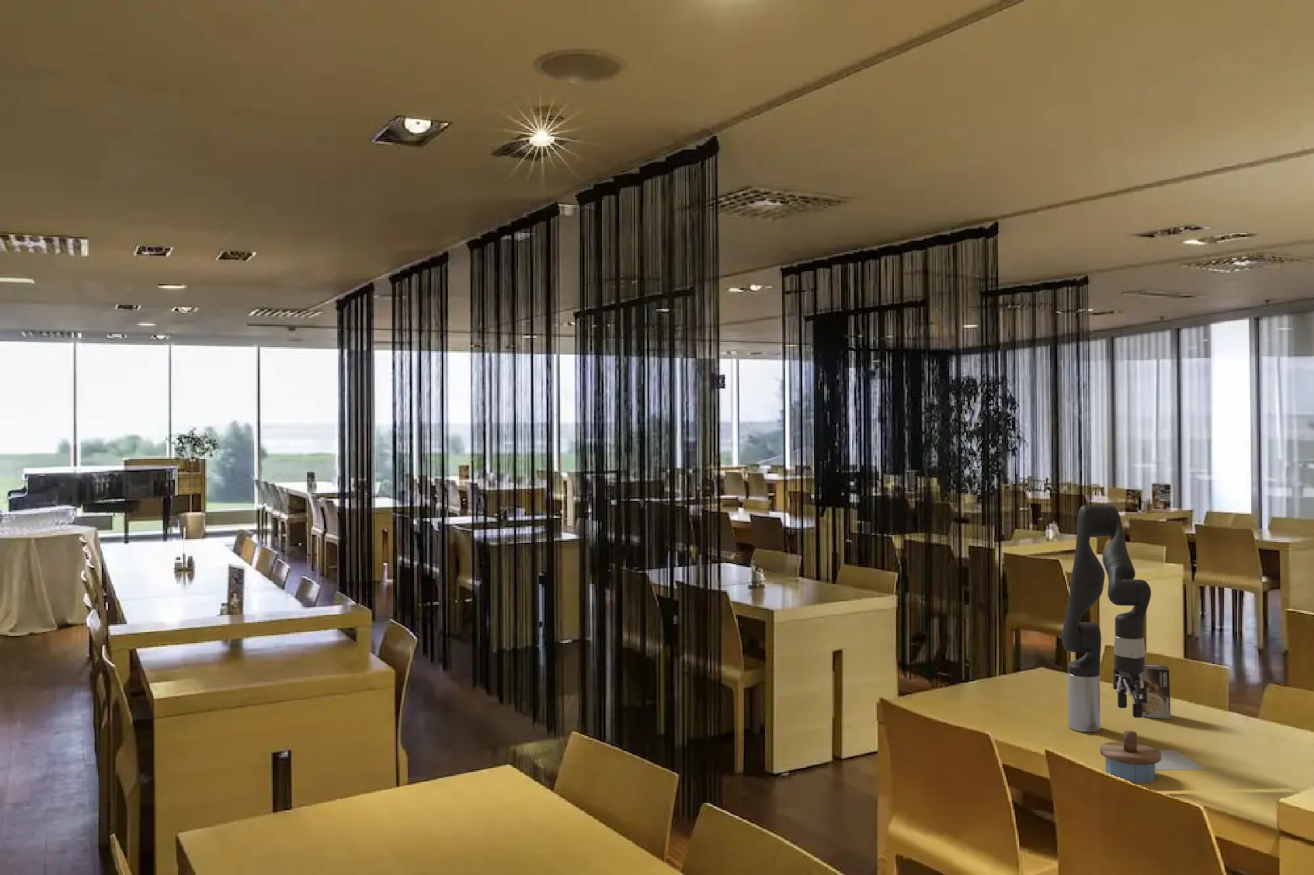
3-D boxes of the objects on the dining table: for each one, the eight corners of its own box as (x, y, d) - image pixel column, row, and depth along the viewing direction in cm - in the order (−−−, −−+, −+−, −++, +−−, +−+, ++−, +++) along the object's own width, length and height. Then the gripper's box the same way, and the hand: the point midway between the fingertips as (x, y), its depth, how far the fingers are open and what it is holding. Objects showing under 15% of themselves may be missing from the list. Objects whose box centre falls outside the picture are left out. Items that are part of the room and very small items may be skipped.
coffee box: (1168, 714, 326) (1168, 665, 325) (1170, 719, 320) (1170, 669, 319) (1137, 711, 329) (1137, 663, 329) (1139, 717, 323) (1138, 667, 323)
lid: (1090, 746, 277) (1090, 724, 277) (1144, 745, 277) (1143, 723, 277) (1115, 765, 262) (1115, 741, 262) (1172, 764, 262) (1172, 740, 262)
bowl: (1098, 770, 275) (1098, 748, 275) (1141, 769, 275) (1141, 747, 275) (1118, 785, 263) (1118, 763, 263) (1164, 785, 263) (1163, 762, 263)
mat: (1119, 753, 288) (1119, 750, 288) (1175, 752, 288) (1175, 749, 288) (1147, 773, 272) (1147, 770, 272) (1205, 772, 272) (1205, 769, 272)
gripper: (1103, 647, 276) (1104, 705, 276) (1128, 659, 261) (1128, 721, 262) (1130, 646, 276) (1131, 704, 276) (1156, 659, 261) (1156, 720, 262)
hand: (1129, 712), depth 269 cm, fingers open, 8 cm apart
